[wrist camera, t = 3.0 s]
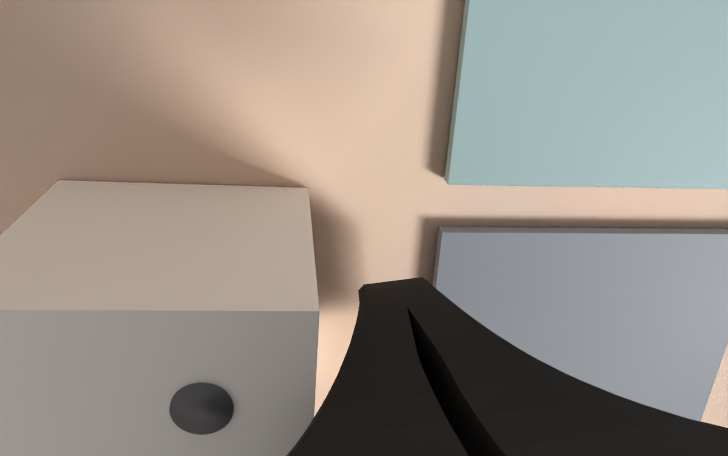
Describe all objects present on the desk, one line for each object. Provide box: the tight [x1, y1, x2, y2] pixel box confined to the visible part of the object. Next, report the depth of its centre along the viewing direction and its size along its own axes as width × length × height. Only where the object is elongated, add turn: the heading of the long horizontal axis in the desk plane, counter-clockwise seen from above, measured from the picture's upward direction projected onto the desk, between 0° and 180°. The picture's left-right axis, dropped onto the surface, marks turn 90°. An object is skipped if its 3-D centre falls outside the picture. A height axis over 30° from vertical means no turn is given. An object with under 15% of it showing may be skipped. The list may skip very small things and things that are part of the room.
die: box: [0, 180, 319, 456], centre depth 10 cm, size 4×4×4 cm
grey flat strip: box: [432, 0, 728, 421], centre depth 14 cm, size 7×39×1 cm, turn 177°
